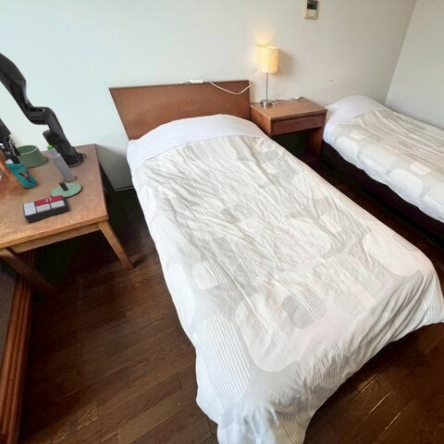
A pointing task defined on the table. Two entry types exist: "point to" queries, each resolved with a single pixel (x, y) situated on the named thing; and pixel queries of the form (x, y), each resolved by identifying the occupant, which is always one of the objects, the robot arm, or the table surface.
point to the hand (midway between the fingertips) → (18, 159)
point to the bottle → (60, 164)
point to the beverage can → (21, 174)
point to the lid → (66, 189)
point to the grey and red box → (44, 208)
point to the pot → (31, 156)
